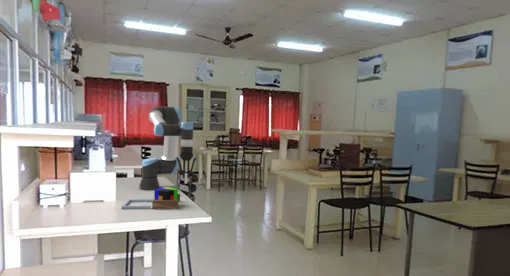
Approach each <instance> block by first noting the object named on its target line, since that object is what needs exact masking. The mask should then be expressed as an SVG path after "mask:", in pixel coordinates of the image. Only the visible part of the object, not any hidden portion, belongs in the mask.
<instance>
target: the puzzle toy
mask: <svg viewBox="0 0 510 276" xmlns="http://www.w3.org/2000/svg"><path fill="white" fill-rule="evenodd" d="M178 192H179V190H178V188H173V187H160V188H159V189H155V190H154V197H153V199H154V200H178V194H179V193H178Z"/></svg>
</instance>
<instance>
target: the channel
mask: <svg viewBox="0 0 510 276" xmlns="http://www.w3.org/2000/svg"><path fill="white" fill-rule="evenodd" d="M180 202H181V193H178V200H152V202H151V204H152V205H151V209H152V210H155V209H156V210H158V209H159V210H163V209H166V210H169V209H170V210H172V209H174V210H175V209H177V210H178V208H179V203H180Z"/></svg>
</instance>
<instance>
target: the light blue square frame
mask: <svg viewBox="0 0 510 276" xmlns="http://www.w3.org/2000/svg"><path fill="white" fill-rule="evenodd" d="M152 200H154V198H151V199H150V198H148V199H147V198H145V199H144V198H139V199H138V198H127V200H126V201H125V202H124V204H122V205H121V210H147V209H152V205H129V204H130V203H152Z"/></svg>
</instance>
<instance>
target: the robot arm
mask: <svg viewBox="0 0 510 276" xmlns="http://www.w3.org/2000/svg"><path fill="white" fill-rule="evenodd" d="M147 115H148V116H147V117H148V120H149V121H150V123H153V125H154V126H153V135H154V136H156V137H157V136H158V137H164V138H163V139H164V140H163V149H162V150H163V151H162V156H161V157H160V159H159V158H158V157H150V158H145V159H143V160H142V162H141V179H140V181H139V182H140V183H139V184H138V185H139V186H138V190H142V191H155V189H160V188H161V185H160V182H159V178H158V175H175V174H176V173H177V171H178V167H179V172H180V173H181V174H182V178H183V179H184V184H185V185H186V184H188V179H189V178H190V174H191V173H192V172H193V169H194V165H195V162H196V161H197V156H195V155H194V152H193V151H194V149H193V148H194V147H193V145H194V123H193V121H182V119H183V117H182V116H183V115H182V111H181V109H180V108H179V107H175V106H161V105H160V106H156V107H155V106H154V107H153V108H151V109H150V111H148V114H147ZM177 137H180V153H179V155H178V156H175V152H176V151H175V150H176V138H177ZM181 160H182V162H181ZM191 160H192V163H190V161H191ZM186 162H187V166H186ZM182 163H183V164H182ZM190 164H191V166H190ZM186 167H187V168H186ZM186 169H187V170H186ZM186 171H187V172H186Z"/></svg>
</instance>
